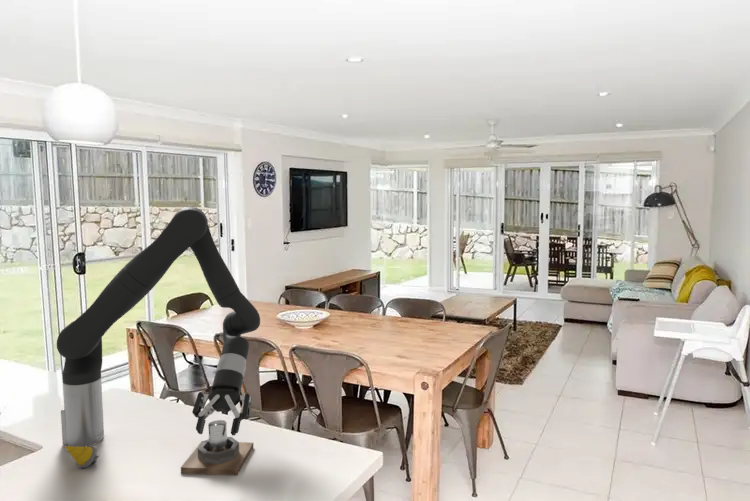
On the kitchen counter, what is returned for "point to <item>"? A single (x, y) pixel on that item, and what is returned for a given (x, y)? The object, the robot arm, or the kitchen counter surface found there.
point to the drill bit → (83, 455)
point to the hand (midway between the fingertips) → (216, 433)
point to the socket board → (218, 459)
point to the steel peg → (217, 436)
